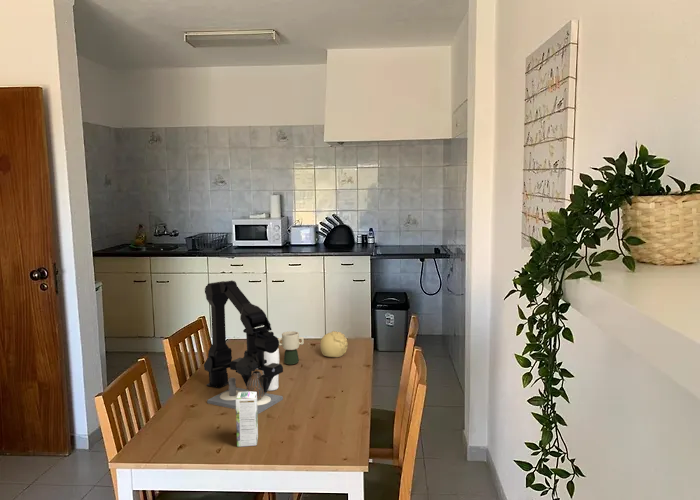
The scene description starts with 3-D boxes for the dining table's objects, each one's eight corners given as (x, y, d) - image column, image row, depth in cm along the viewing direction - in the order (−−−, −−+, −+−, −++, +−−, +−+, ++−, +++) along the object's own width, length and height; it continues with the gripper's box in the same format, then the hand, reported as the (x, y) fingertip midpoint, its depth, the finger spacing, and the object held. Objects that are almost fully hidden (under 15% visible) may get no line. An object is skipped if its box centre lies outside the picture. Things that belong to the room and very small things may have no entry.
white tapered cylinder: (277, 392, 208) (275, 352, 206) (259, 391, 209) (257, 351, 207) (283, 385, 214) (281, 347, 213) (265, 385, 216) (264, 346, 214)
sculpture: (347, 359, 245) (347, 334, 244) (319, 359, 245) (318, 335, 244) (348, 351, 256) (347, 328, 255) (321, 352, 256) (320, 328, 255)
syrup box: (239, 438, 171) (236, 391, 169) (259, 437, 171) (256, 390, 170) (236, 447, 165) (234, 398, 164) (257, 446, 166) (255, 397, 164)
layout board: (207, 403, 199) (206, 382, 198) (233, 390, 211) (232, 370, 210) (258, 414, 189) (257, 392, 188) (282, 399, 201) (282, 379, 200)
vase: (270, 394, 199) (269, 369, 198) (261, 401, 193) (260, 376, 192) (253, 392, 202) (252, 368, 200) (243, 399, 195) (242, 374, 194)
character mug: (304, 360, 245) (303, 330, 243) (304, 365, 238) (303, 334, 236) (278, 361, 244) (277, 331, 243) (278, 366, 237) (277, 336, 235)
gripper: (218, 349, 192) (220, 394, 194) (263, 356, 184) (265, 403, 186) (239, 341, 202) (241, 384, 204) (283, 347, 193) (284, 392, 195)
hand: (257, 390), depth 197 cm, fingers closed on vase, 7 cm apart
